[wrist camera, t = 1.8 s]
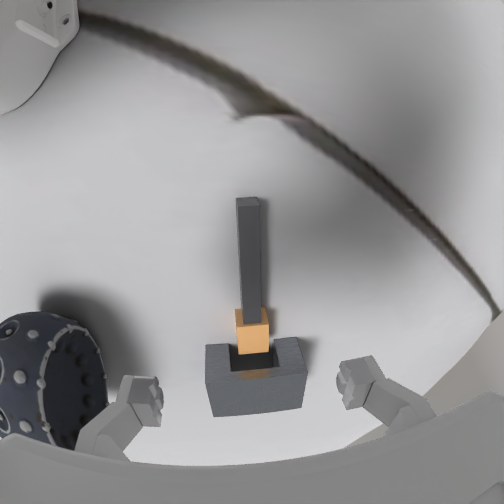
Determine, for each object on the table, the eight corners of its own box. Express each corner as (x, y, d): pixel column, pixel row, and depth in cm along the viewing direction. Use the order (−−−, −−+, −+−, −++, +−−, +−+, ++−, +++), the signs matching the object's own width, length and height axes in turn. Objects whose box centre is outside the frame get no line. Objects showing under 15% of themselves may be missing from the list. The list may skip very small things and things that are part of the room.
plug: (227, 198, 28) (228, 208, 25) (263, 196, 29) (269, 206, 26) (236, 335, 36) (238, 354, 33) (264, 333, 36) (268, 351, 33)
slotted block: (205, 345, 36) (205, 382, 30) (295, 336, 37) (307, 372, 31) (212, 381, 40) (213, 417, 34) (291, 374, 41) (301, 407, 35)
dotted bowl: (83, 281, 30) (8, 413, 12) (122, 386, 39) (100, 496, 21) (22, 280, 29) (-55, 383, 11) (67, 379, 38) (36, 476, 20)
